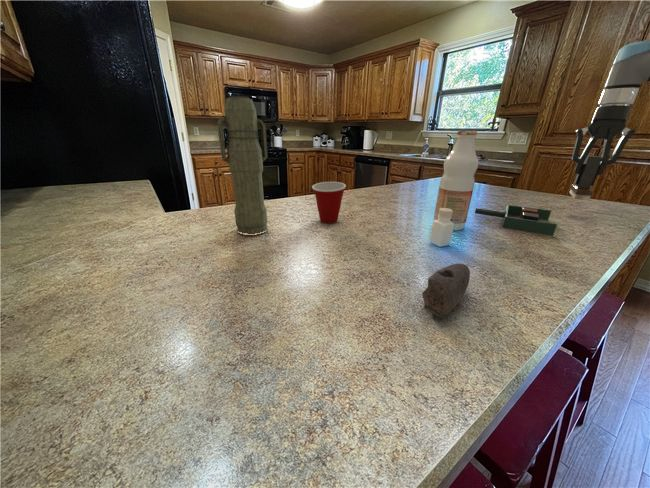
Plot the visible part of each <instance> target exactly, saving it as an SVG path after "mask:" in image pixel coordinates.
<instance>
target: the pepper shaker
mask: <svg viewBox="0 0 650 488" xmlns="http://www.w3.org/2000/svg"><path fill="white" fill-rule="evenodd" d="M452 213H453V210H451V209H448V208H440V209H439V214H438V220H435V221H434V222H433V221H432V226H431V230H430V236H429V243H431V244H433V245H435V246H436V247H438V248H442V247H446V246H449V245H450V244H451V241H452V236H453V232H454V230H453V228H454V224H453V223H452V222H451V221H450V220H451V217H452Z"/></svg>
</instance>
